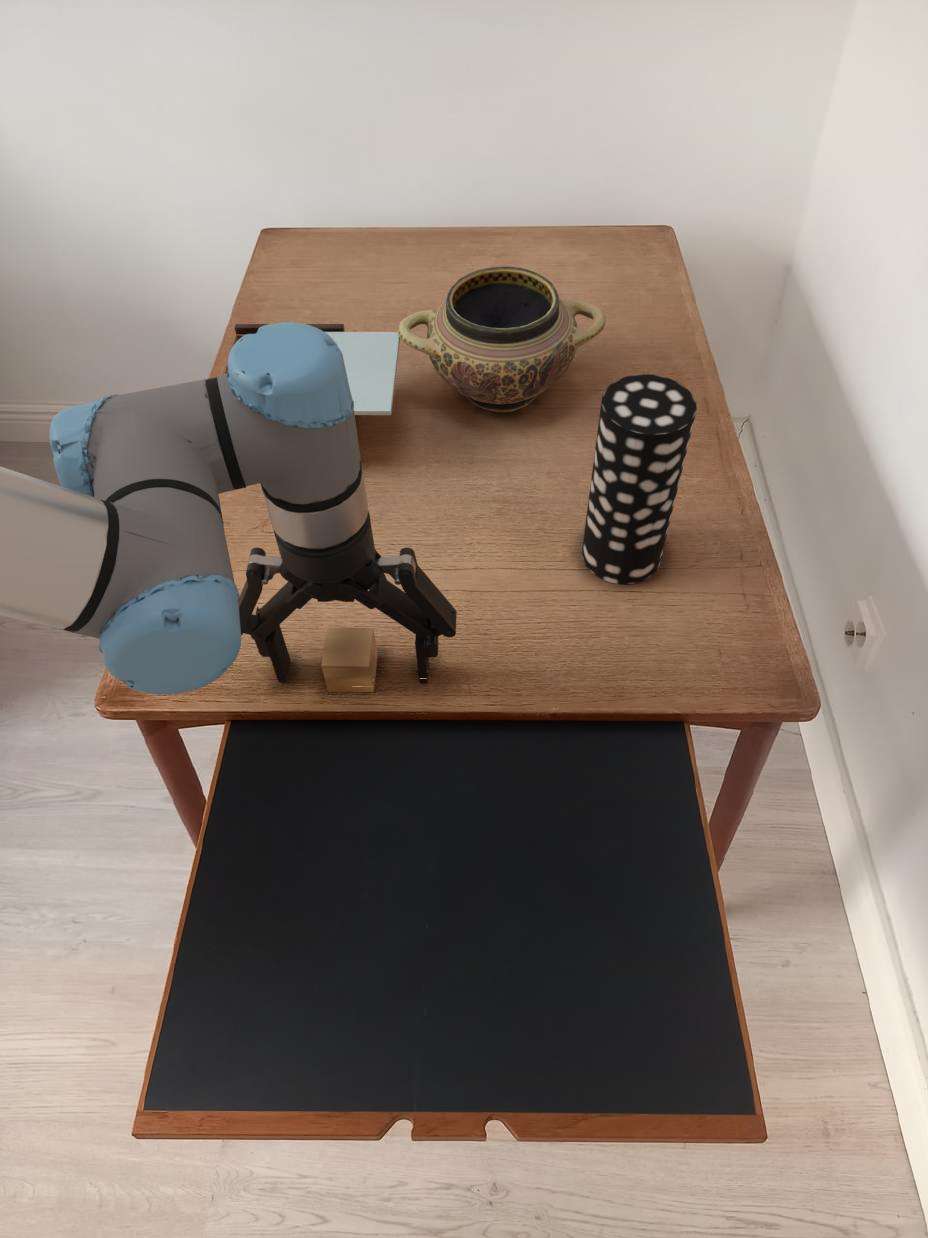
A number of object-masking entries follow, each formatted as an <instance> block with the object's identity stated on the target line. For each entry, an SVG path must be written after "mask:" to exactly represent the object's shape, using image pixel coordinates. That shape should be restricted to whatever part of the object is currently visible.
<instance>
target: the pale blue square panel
mask: <svg viewBox="0 0 928 1238" xmlns="http://www.w3.org/2000/svg"><path fill="white" fill-rule="evenodd" d="M325 333H326V334H328V335H329V336H330V337H331V338H332V339H333V340H334V341H335V342H336V344H337V345H338V347H339V349H340V350H341V352H342V355H343V360H344V364H345V369H346V373H347V378H348V383H349V387H350V392H351V395H352V400H353V401H354V414H355V416H392V413H393V405H394V397H395V385H396V377H397V369H398V361H399V360H398V359H399V351H400V342H401V339H400V337H399V335H398V331H345V332H325Z"/></svg>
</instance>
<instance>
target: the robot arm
mask: <svg viewBox="0 0 928 1238" xmlns="http://www.w3.org/2000/svg"><path fill="white" fill-rule="evenodd" d="M268 324H269V325H265V326H262V327H260V328H259V329H258V331H257V333H256V334H246V335H244V336H243V335H242V336H243V337H241V338H240V339H239V340H238V341H237V342H236V343H235V344H234V343H233V344H234V346H233V345H232V347H231V350H229V353H228V357H227V364H228V371H227V373H226V374H225V373H222V374H217V375H216V376H215V377H211V378H207V379H205V378H204V379H200V380H195V381H189V382H182V383H177V384H173V385H167V386H161V387H155V388H150V389H149V388H148V389H145V390H139V391H133V392H128V393H122V394H110V395H108V396H103V397H102V398H101V399H98V400H95V401H90V402H86V403H82V404H79V405H75V406H71V407H68V408H67V407H66V408H64V409H61V410H60V411H59V412H58V413H56V414H55V415H54V416H53V418H52V420H51V422H50V425H49V434H48V436H49V437H48V438H49V445H50V449H51V452H52V456H53V459H52V460H53V461H52V462H53V465H54V469H55V472H56V475H57V479H58V481H59V484H60V485H58V484H55V483H51V482H49V481H46V480H44V479H40V478H37V477H34V476H30V475H28V474H25V473H21V472H18V471H16V470H13V469H9V468H6V467H3V466H0V617H5V618H8V619H9V618H10V619H14V620H18V621H23V622H27V623H32V624H36V625H40V626H45V627H50V628H55V629H59V630H60V631H64V632H65V631H66V632H70V633H72V634H75V635H81V636H85V637H90V638H94V639H98V640H99V643H98V644H99V645H98V651H99V652H100V653H101V654H102V657H103V662H104V665H105V668H106V669H107V671H108V672H109V674H110V675H111V676H112V677H113V678H114V679H115V680H117V681H121V682H122V683H125V685H126V686H127V688H129V689H131V690H133V691H136V692H139V693H143V694H148V695H149V694H150V695H160V696H161V695H176V694H183V693H187V692H191V691H195V690H198V689H201V688H203V687H206V686H208V685H209V684H211V683H213V682H215V681H216V680H219V678H220V677H221V676H223V675H224V674H225V673H226V672H227V671H228V669H230V668H231V667H232V666H233V665H234V662H236V660H237V657H238V656H239V654H240V650H241V646H242V636H243V635H249V636H250V638H251V639H252V640H254V643H255V645H256V648H257V651H258V653H259V655H260V656H261V657H263V658H264V657H265V658H270V661H271V665H272V667H273V670H274V673H275V676H276V679H277V682H278V683H283V684H284V683H287V681H288V676H289V672H290V671H289V670H290V666H291V665H290V664H291V657H290V654H289V650H288V647H287V643H286V640H285V638H284V634H283V631H282V628H281V624H282V623H283V622H284V621H285V620H286V619H288V617H289V616H291V615H292V614H293V613H294V612H295V611H297V609H298V610H301V609H302V608H303V607H304V606H305V605H307V603H309V602H310V601H311V600H312V599H314V600H316V601H317V603H328V602H334V601H337V602H343V603H354V602H355V601H357V602H358V603H359V604H361V605H363V606H364V607H366V608H368V610H374V609H376V610H378V611H379V612H381V613H382V614H384V615H385V616H386V617H388V618H390V619H392V620H393V621H395V623H397V624H399V625H400V626H402V627H404V628H405V629H407V630H408V631H409V632H411V633H412V634H414V635H415V637H414V638H415V639H414V645H415V647H414V648H415V656H416V657H415V658H416V664H417V665H416V666H417V673H418V682H419V684H422V685H423V684H426V685H427V684H428V681H429V667H430V658H432V659H434V658H437V657H438V655H439V643H440V641H439V637H440V636H443V637H445V638H453V637H455V636H456V635H457V617H458V615H457V614H458V612H457V609H456V608H455V607H454V606H453V604H451V602H450V601H449V600H448V599H447V598H446V597H445V595H444V594H443V592H441V591H440V589H439V588H438V587H437V586H436V584H435V583H434V582H433V581H432V579H431V578H429V576H428V574H426V572H425V571H424V570H423V569H422V568H421V567H420V566H419V564H418V560H417V556H416V553H415V550H414V549H413V548H411V547H408V546H407V547H402V548H401V549H400V550H399V555H394V556H382V555H381V554H380V553H379V552H378V550H377V549H376V547H375V541H374V534H373V527H372V522H371V521H372V520H371V514H370V511H369V501H368V496H367V495H368V494H367V490H366V484H365V483H366V482H365V476H364V472H363V471H364V470H363V466H362V459H361V451H360V444H359V436H358V430H357V423H356V415H355V414H354V401H353V400H352V395H351V392H350V387H349V383H348V378H347V373H346V369H345V364H344V360H343V355H342V352H341V350H340V349H339V347H338V345H337V344H336V342H335V341H334V340H333V339H332V338H331V337H330V336H329V335H328V334H326V333H325V332H323V331H322V330H320V329H318V328H316V327H313V326H310V325H307V324H308V323H301V322H294V321H283V322H282V321H281V322H275V323H268ZM257 484H260V487H261V490H262V494H263V498H264V503H265V505H266V509H267V514H268V517H269V521H270V524H271V527H272V529H273V534H274V538H275V541H276V544H277V548H278V551H279V555H280V556H269V555H266V554H267V553H266V551H265V549H263V548H261V547H256V546H255V547H252V548H251V549H250V554H249V557H248V561H247V567H246V570H245V576H246V577H245V578H246V580H245V583H244V585H243V587H242V589H241V592H239V589H238V587H237V585H236V583H235V577H234V573H233V567H232V563H231V558H230V553H229V546H228V542H227V537H226V533H225V527H224V519H223V513H222V507H221V506H222V505H221V501H220V494H223V493H227V492H232V491H237V490H241V489H247V487H249V486H253V485H257ZM277 574H279V575H280V576H281V577H282V578H283V579H284V580H285V581H286V583H285V584H284V585H282V587H281V588H280V589H279V590H278V591H277V592H276V593H275V594H274V595H273V596H272V597H271V598H270V599H269V600H267V601H266V602H265V603H264V604H263V605H262V606H261V607H259V606H257V603H258V601H259V599H260V597H261V595H262V592H263V587H264V585H265V586H266V585H268V584H269V581H272V580H273V579H274V576H275V575H277ZM386 575H389V576H390V577H391V579H393V580H394V582H393V583H392V582H390V581H389V580H388V579H387V576H386ZM396 585H398V586H399V585H401V588H402V589H400V588H399V587H398V586H396ZM255 609H256V610H255ZM254 610H255V614H254V613H253V612H254ZM427 670H428V672H427ZM419 678H427V679H419Z"/></svg>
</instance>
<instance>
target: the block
mask: <svg viewBox="0 0 928 1238" xmlns="http://www.w3.org/2000/svg"><path fill="white" fill-rule="evenodd" d="M323 645H324V646H323V652H322V657H321V664H320V666H321V671H322V674H323V678H324V682H325V686H326V685H327V686H326V689H327V692H328V693H375V686H376V676H377V667H378V657H379V654H378V648H377V641H376V635H375V630H374V627H329V626H328V627H326V631H325V639H324V644H323ZM373 679H374V681H373ZM352 686H373V687H352Z"/></svg>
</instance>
